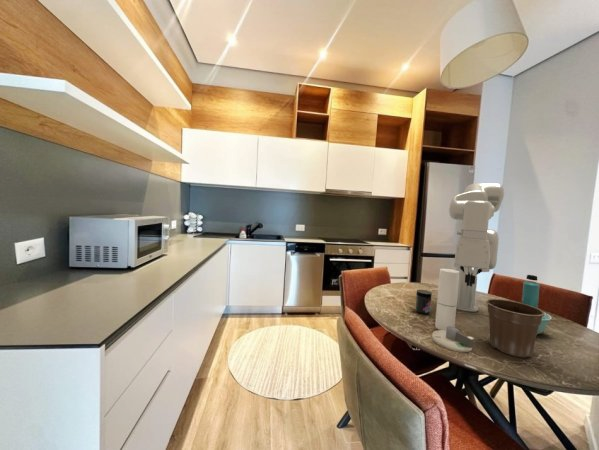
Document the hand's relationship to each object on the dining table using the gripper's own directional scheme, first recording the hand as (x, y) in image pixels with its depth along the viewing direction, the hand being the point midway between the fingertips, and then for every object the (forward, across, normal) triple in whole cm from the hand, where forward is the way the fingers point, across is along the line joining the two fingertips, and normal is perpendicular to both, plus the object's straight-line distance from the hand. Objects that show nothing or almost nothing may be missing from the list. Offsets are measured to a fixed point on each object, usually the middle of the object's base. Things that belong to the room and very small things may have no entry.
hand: (469, 285), depth 91 cm
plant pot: (+24, +13, +10) cm, 29 cm away
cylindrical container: (+24, -8, +12) cm, 28 cm away
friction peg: (+21, -2, -2) cm, 21 cm away
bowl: (+24, +19, +36) cm, 47 cm away
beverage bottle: (+25, +23, +64) cm, 72 cm away
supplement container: (+24, -19, +24) cm, 39 cm away
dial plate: (+23, -4, 0) cm, 23 cm away
